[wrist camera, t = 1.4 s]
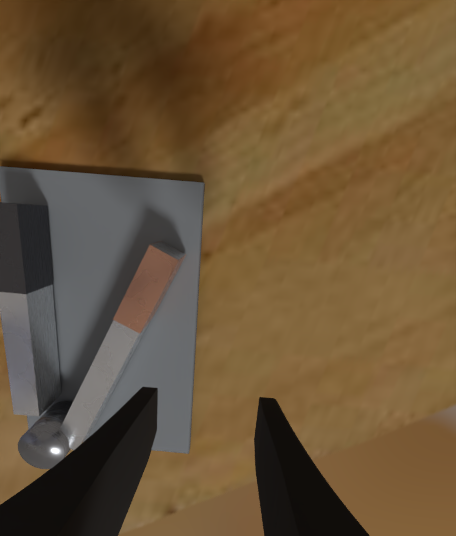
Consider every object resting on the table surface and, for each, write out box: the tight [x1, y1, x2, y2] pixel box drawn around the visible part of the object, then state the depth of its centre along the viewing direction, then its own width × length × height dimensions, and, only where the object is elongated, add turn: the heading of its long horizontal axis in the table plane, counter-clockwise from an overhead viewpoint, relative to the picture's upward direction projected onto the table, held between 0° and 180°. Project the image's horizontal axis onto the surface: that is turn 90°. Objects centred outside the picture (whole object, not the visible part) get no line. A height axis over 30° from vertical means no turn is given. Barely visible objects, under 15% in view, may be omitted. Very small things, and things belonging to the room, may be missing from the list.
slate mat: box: [0, 166, 205, 453], centre depth 20 cm, size 24×15×1 cm, turn 175°
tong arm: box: [18, 241, 186, 469], centre depth 18 cm, size 20×4×3 cm, turn 151°
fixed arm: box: [0, 202, 61, 416], centre depth 18 cm, size 16×2×2 cm, turn 176°
